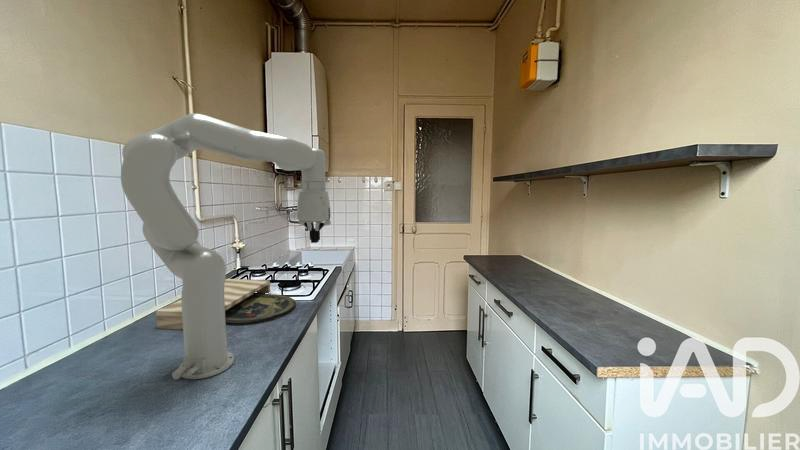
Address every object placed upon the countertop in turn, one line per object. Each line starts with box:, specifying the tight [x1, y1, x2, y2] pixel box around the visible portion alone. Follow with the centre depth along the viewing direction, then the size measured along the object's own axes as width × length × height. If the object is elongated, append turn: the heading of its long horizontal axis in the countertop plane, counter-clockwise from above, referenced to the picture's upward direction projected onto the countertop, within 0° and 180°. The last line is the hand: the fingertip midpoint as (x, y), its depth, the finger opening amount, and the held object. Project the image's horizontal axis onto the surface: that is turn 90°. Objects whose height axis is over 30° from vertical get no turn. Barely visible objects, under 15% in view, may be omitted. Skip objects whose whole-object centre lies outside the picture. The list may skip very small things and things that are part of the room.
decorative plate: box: [225, 293, 297, 326], centre depth 126 cm, size 30×2×30 cm
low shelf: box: [155, 278, 271, 330], centre depth 127 cm, size 39×20×6 cm, turn 175°
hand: (314, 242), depth 109 cm, fingers closed
